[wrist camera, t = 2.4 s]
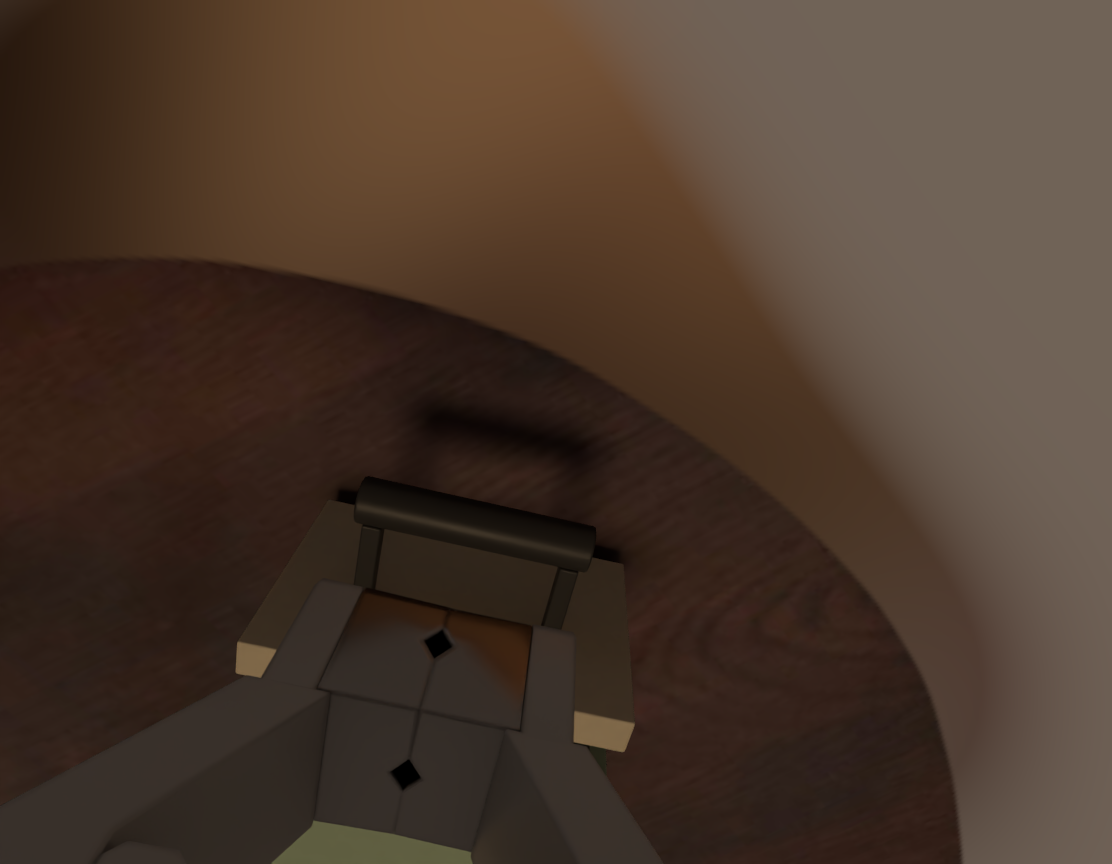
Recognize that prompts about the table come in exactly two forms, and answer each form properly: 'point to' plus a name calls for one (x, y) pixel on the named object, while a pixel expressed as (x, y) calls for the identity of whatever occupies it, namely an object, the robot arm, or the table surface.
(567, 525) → the drawer
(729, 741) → the table surface
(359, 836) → the cabinet
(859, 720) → the table surface
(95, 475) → the table surface
